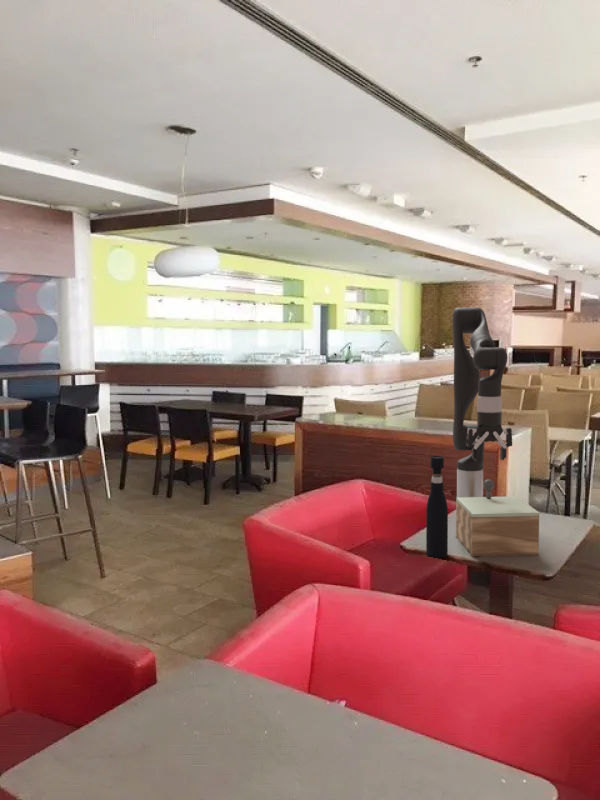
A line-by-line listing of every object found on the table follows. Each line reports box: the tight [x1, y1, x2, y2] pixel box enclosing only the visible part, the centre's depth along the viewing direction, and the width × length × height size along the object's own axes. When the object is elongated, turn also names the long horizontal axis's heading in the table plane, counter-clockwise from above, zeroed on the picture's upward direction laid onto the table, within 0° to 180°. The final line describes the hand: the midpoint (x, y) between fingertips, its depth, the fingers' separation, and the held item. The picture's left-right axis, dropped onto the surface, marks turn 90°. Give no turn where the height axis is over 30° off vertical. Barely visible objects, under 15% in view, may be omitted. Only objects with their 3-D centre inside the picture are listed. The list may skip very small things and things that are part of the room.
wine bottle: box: [425, 455, 449, 559], centre depth 209 cm, size 6×6×30 cm
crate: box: [455, 500, 540, 557], centre depth 217 cm, size 20×20×12 cm
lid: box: [455, 478, 540, 517], centre depth 216 cm, size 20×20×7 cm
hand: (488, 459), depth 223 cm, fingers open, 8 cm apart
